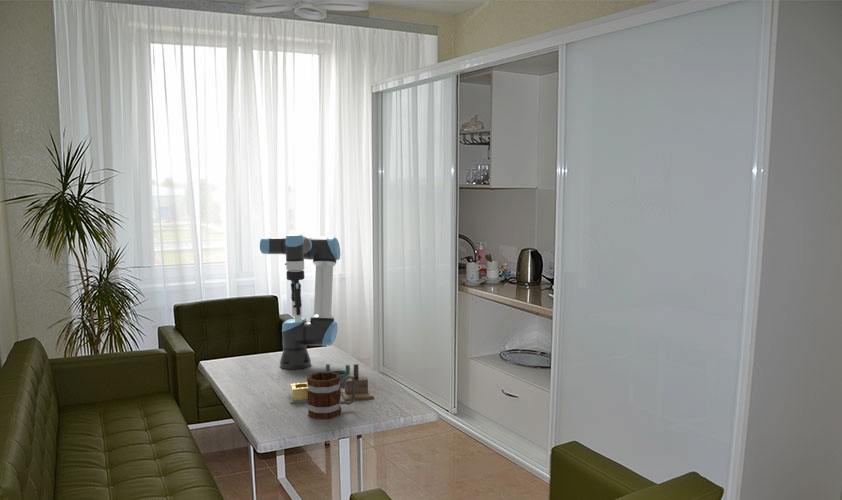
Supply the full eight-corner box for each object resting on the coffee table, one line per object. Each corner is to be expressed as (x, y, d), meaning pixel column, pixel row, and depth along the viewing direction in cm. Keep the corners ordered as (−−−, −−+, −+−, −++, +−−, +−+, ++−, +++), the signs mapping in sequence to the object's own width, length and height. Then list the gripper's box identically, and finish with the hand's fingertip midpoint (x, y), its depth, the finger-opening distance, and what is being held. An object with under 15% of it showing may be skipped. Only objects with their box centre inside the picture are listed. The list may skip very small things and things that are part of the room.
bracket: (351, 384, 296) (351, 365, 296) (332, 388, 292) (331, 368, 291) (343, 379, 304) (342, 360, 303) (324, 383, 300) (324, 363, 299)
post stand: (340, 391, 287) (339, 361, 286) (367, 388, 291) (366, 359, 289) (345, 401, 274) (344, 370, 273) (373, 398, 277) (373, 368, 276)
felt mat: (288, 396, 281) (288, 394, 281) (312, 393, 284) (312, 392, 284) (290, 403, 272) (290, 402, 272) (315, 401, 275) (315, 400, 275)
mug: (312, 421, 252) (311, 383, 250) (303, 410, 264) (302, 374, 262) (361, 414, 259) (360, 376, 258) (350, 403, 272) (350, 367, 270)
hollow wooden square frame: (291, 395, 281) (290, 383, 280) (310, 393, 283) (309, 382, 282) (292, 401, 273) (292, 389, 273) (312, 399, 275) (312, 387, 275)
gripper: (284, 267, 295) (285, 313, 297) (288, 274, 271) (290, 325, 273) (301, 266, 297) (302, 312, 299) (307, 273, 273) (308, 324, 275)
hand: (296, 319), depth 286 cm, fingers open, 13 cm apart
